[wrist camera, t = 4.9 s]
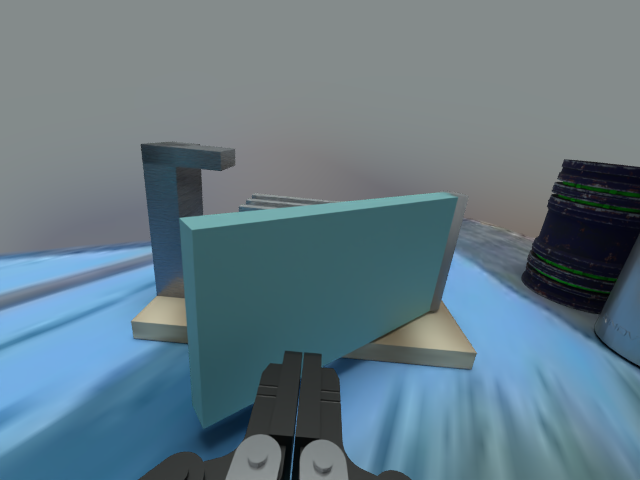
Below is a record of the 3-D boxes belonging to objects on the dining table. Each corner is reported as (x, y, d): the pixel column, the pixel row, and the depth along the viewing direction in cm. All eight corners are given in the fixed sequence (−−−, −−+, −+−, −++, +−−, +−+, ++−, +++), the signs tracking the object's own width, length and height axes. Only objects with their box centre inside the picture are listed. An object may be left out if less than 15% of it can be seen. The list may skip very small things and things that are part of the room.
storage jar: (542, 304, 33) (598, 164, 28) (508, 267, 42) (545, 157, 37) (646, 322, 31) (726, 177, 26) (587, 280, 40) (638, 166, 35)
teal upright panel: (422, 295, 29) (447, 190, 25) (443, 306, 27) (473, 196, 24) (190, 401, 16) (177, 215, 12) (205, 434, 14) (194, 232, 11)
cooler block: (372, 261, 36) (389, 157, 32) (391, 317, 25) (421, 171, 21) (208, 245, 36) (204, 139, 32) (157, 295, 25) (140, 144, 21)
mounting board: (409, 266, 39) (411, 255, 39) (471, 369, 22) (476, 352, 22) (217, 247, 39) (217, 237, 39) (133, 338, 22) (131, 321, 22)
